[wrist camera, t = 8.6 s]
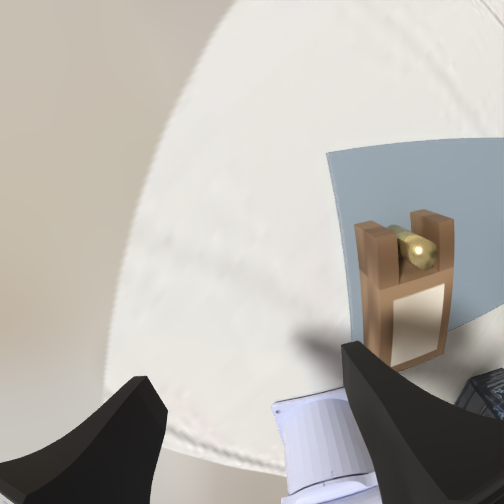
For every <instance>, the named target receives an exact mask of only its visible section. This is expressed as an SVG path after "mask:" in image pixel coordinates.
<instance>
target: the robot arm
mask: <svg viewBox="0 0 504 504" xmlns="http://www.w3.org/2000/svg"><path fill="white" fill-rule="evenodd" d="M341 350H342V364H343V382H344V388H340V389H337V390H333V391H329V392H325V393H321V394H316V395H312V396H307V397H303V398H298V399H293V400H288V401H282V402H277V403H274V404H272V411H273V414H274V417H275V420H276V423H277V426H278V429H279V432H280V435H281V438H282V441H283V444H284V451H285V462H286V475H287V487H288V497H283V498H281V504H504V420H499V419H495V418H491V417H487V416H483V415H479V414H476V413H473V412H471V411H468V410H465V409H462V408H460V407H457V406H454V405H452V404H450V403H448V402H445V401H443V400H441V399H439V398H437V397H435V396H433V395H432V394H430V393H428V392H426V391H425V390H423V389H421V388H420V387H418V386H416V385H415V384H413V383H412V382H410V381H409V380H407V379H406V378H404V377H403V376H402V375H400V374H399V373H398V372H396V371H395V370H394V369H392V368H391V367H390V366H388V365H387V364H386V363H384V362H383V361H382V360H381V359H380V358H378V357H377V356H376V355H375V354H374V353H372V352H371V351H370V350H369V349H368V348H367V347H366V346H364V345H363V344H362V343H361V342H360V341H358V340H357V341H354V342H350V343H347V344H343V345H341ZM277 410H279V411H277ZM167 414H168V410H167V408H166V407H165V405H164V403H163V402H162V400H161V399H160V397H159V395H158V394H157V392H156V390H155V389H154V387H153V385H152V384H151V382H150V380H149V379H148V377H147V376H134V377H133V378H132V379H130V380H129V381H128V382H127V383H126V384H125V385H124V386H122V387H121V388H120V389H119V390H118V391H117V392H116V393H115V394H114V395H113V396H112V397H111V398H110V399H109V400H107V401H106V402H105V403H104V404H103V405H102V406H101V407H100V408H99V409H98V410H97V411H96V412H94V413H93V414H92V415H91V416H90V417H88V418H87V419H86V420H85V421H84V422H83V423H81V424H80V425H79V426H78V427H76V428H75V429H74V430H72V431H71V432H70V433H68V434H67V435H65V436H64V437H62V438H61V439H59V440H57V441H56V442H54V443H52V444H50V445H48V446H47V447H45V448H43V449H41V450H39V451H37V452H34V453H32V454H29V455H26V456H24V457H21V458H18V459H14V460H11V461H7V462H2V463H0V493H1V494H2V495H4V496H5V497H6V498H7V499H9V500H10V501H12V502H13V503H14V504H150V494H151V485H152V480H153V475H154V471H155V468H156V464H157V461H158V457H159V453H160V450H161V446H162V443H163V439H164V435H165V430H166V423H167ZM2 504H7V503H6V502H5V501H3V502H2Z"/></svg>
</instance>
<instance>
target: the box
mask: <svg viewBox="0 0 504 504" xmlns="http://www.w3.org/2000/svg"><path fill="white" fill-rule="evenodd" d="M454 406H457V407H460V408H462V409H465V410H468V411H471V412H473V413H476V414H479V415H483V416H487V417H491V418H495V419H499V420H504V369H503V368H501V369H499V370H496V371H493V372H490V373H487V374H484V375H481V376H478V377H474V378H470V379H469V380H468V382H467V383H466V385H465V387H464V389H463V391H462V392H461V394H460V395H459V397H458V399H457V400H456V402H455V403H454Z"/></svg>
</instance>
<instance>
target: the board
mask: <svg viewBox="0 0 504 504" xmlns="http://www.w3.org/2000/svg"><path fill="white" fill-rule="evenodd" d="M326 156H327V161H328V165H329V170H330V175H331V180H332V185H333V190H334V196H335V201H336V207H337V213H338V219H339V225H340V232H341V239H342V246H343V253H344V261H345V269H346V278H347V287H348V298H349V309H350V322H351V337H352V342H354V341H357V340H358V341H360V342H361V343H362V344H363V345H364V339H363V313H362V297H361V284H360V272H359V262H358V253H357V244H356V236H355V229H354V224H357V223H362V222H367V221H371V220H372V221H374V222H376V223H378V224H380V225H381V226H383V227H385V228H387V227H388V226H390V225H393V224H396V225H399V226H401V227H403V228H405V229H407V230H409V231H411V220H410V212H412V211H417V210H422V209H425V210H429V211H432V212H435V213H438V214H441V215H443V216H446V217H449V218H452V219H454V232H455V250H454V276H453V289H452V300H451V309H450V316H449V324H448V330H447V332H448V331H450V330H452V329H455V328H457V327H459V326H461V325H463V324H465V323H467V322H470V321H472V320H474V319H476V318H478V317H480V316H482V315H483V314H485V313H487V312H489V311H491V310H493V309H495V308H497V307H498V306H500V305H502V304H504V138H460V139H440V140H426V141H414V142H403V143H394V144H385V145H377V146H369V147H361V148H354V149H348V150H341V151H335V152H329V153H326ZM400 257H402V256H401V255H399V254H398V258H400Z"/></svg>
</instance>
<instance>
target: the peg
mask: <svg viewBox="0 0 504 504" xmlns="http://www.w3.org/2000/svg"><path fill="white" fill-rule="evenodd" d="M387 229H389V230H391V231H393V232H395V233H397V246H398V254H399V255H401V256H402V257H404V258H405V259H407V260H408V261H410V262H411V263H412V264H414V265H415V266H417V267H418V268H419V269H422V270H425V269H428V268H430V267H431V266H432V265H433V264H434V263H435V261H436V258H437V247H436V245H435V244H434V243H433V242H431V241H429V240H427V239H425V238H423V237H421V236H419V235H417V234H415V233H413V232H411V231H409V230H407V229H405V228H403V227H401V226H399V225H396V224H393V225H390V226H388V227H387Z"/></svg>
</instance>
